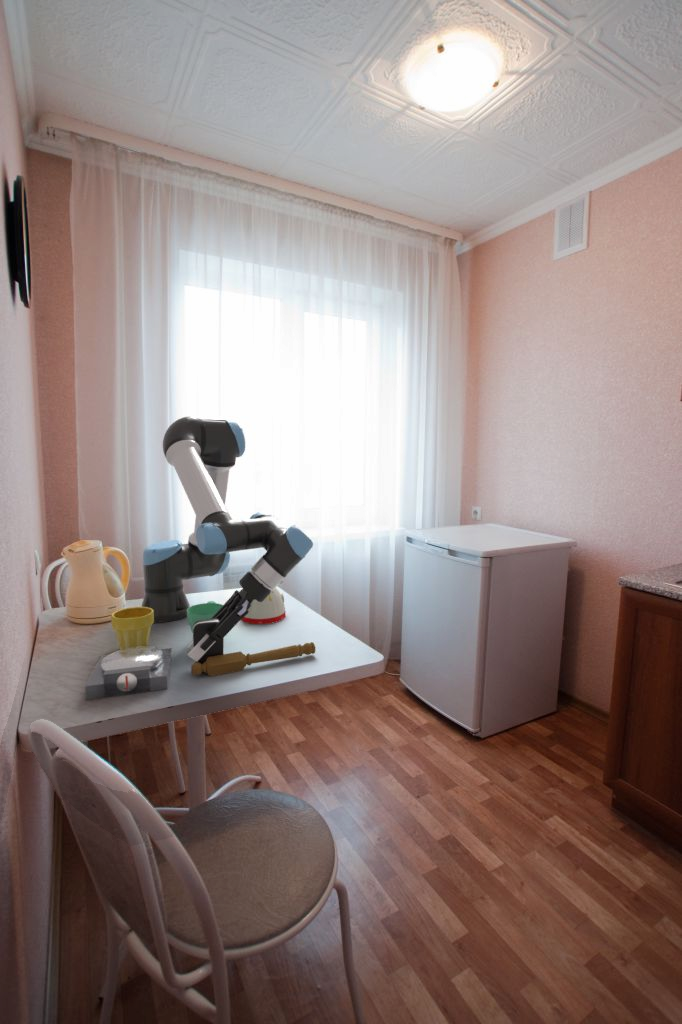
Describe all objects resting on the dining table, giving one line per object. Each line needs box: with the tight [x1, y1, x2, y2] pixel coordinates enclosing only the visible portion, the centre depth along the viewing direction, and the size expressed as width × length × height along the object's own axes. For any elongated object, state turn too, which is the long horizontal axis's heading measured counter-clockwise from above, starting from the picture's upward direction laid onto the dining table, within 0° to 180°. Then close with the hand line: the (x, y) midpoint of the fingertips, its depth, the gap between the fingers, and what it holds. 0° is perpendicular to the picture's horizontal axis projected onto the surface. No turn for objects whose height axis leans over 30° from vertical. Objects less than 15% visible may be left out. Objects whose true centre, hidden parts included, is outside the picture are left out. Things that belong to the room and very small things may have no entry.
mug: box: [186, 600, 224, 635], centre depth 130 cm, size 15×10×10 cm
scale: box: [84, 645, 173, 701], centre depth 109 cm, size 16×16×5 cm
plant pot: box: [110, 606, 155, 650], centre depth 126 cm, size 10×10×10 cm
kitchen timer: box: [241, 586, 286, 625], centre depth 150 cm, size 14×14×15 cm
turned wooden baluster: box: [190, 641, 316, 677], centre depth 115 cm, size 3×3×30 cm
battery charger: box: [192, 619, 225, 664], centre depth 113 cm, size 7×4×11 cm, turn 108°
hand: (192, 653), depth 112 cm, fingers closed on battery charger, 4 cm apart
